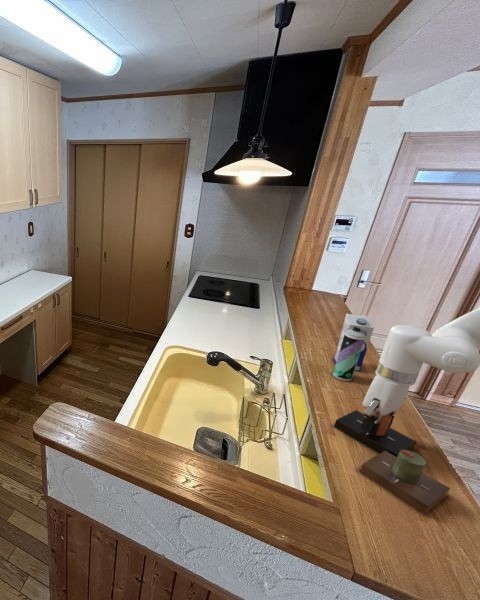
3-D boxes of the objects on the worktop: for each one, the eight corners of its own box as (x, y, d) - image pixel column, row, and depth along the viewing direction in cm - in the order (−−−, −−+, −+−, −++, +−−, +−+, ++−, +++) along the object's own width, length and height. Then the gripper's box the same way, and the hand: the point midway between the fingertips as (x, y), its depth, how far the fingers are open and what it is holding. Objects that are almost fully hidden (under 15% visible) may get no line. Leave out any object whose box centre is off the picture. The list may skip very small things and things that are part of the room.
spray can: (331, 371, 121) (346, 322, 114) (350, 375, 118) (366, 325, 111) (333, 378, 117) (348, 328, 110) (352, 382, 114) (369, 331, 107)
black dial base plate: (413, 449, 86) (417, 441, 85) (393, 462, 82) (397, 454, 81) (353, 416, 98) (356, 409, 97) (333, 426, 94) (336, 419, 93)
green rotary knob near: (421, 479, 74) (430, 460, 72) (411, 486, 73) (420, 467, 71) (397, 465, 78) (405, 446, 76) (388, 471, 76) (395, 452, 74)
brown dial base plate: (446, 496, 73) (450, 487, 72) (424, 514, 69) (428, 505, 68) (381, 457, 83) (385, 449, 82) (359, 471, 79) (362, 463, 79)
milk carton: (354, 362, 126) (369, 315, 119) (360, 371, 120) (376, 322, 113) (332, 359, 129) (346, 312, 122) (337, 367, 123) (351, 319, 116)
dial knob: (369, 422, 92) (375, 405, 90) (388, 432, 88) (395, 415, 86) (361, 427, 90) (367, 410, 88) (380, 438, 86) (387, 420, 84)
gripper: (396, 358, 89) (376, 411, 95) (359, 372, 83) (341, 428, 89) (433, 371, 83) (409, 427, 89) (396, 388, 76) (373, 448, 82)
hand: (375, 427), depth 89 cm, fingers open, 6 cm apart
